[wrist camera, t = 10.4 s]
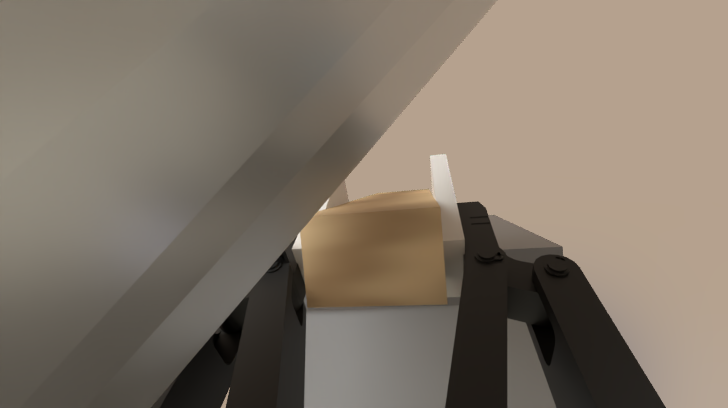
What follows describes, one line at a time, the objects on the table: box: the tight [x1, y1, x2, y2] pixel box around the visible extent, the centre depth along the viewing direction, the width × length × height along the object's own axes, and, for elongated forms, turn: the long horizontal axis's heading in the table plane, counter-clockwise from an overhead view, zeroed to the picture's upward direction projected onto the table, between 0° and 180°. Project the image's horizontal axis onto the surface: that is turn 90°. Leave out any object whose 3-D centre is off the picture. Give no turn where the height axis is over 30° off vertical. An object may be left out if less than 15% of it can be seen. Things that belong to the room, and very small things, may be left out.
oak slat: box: [300, 189, 448, 308], centre depth 21 cm, size 4×20×3 cm, turn 171°
